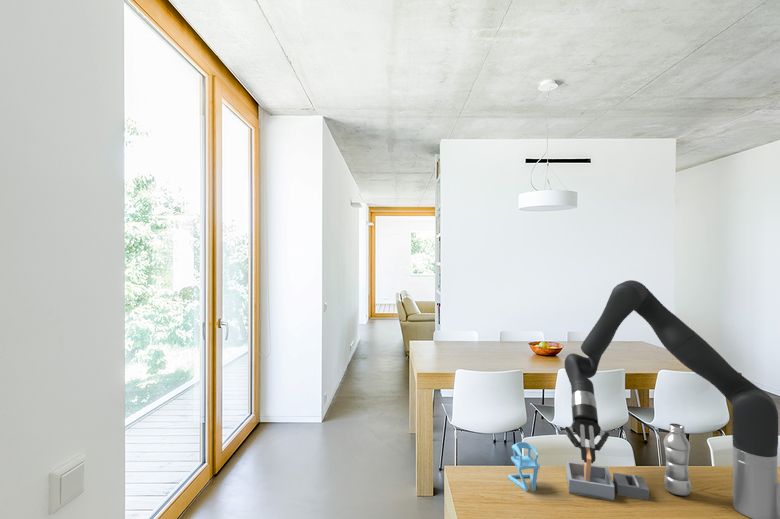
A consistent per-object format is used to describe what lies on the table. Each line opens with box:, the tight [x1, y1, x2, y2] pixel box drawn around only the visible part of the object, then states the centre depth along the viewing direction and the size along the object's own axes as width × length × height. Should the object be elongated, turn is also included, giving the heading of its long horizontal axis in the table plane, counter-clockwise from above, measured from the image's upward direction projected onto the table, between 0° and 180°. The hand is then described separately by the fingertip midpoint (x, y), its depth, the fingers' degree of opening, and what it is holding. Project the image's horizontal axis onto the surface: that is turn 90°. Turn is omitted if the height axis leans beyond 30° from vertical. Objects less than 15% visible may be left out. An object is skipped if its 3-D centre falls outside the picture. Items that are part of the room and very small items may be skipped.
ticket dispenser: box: [612, 472, 650, 501], centre depth 123 cm, size 8×8×4 cm
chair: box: [507, 441, 541, 492], centre depth 126 cm, size 8×8×12 cm
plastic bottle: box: [663, 422, 692, 497], centre depth 122 cm, size 6×7×20 cm
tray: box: [565, 460, 615, 502], centre depth 125 cm, size 12×12×4 cm
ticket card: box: [583, 446, 592, 482], centre depth 126 cm, size 1×4×10 cm, turn 161°
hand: (588, 461), depth 123 cm, fingers closed on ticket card, 1 cm apart
